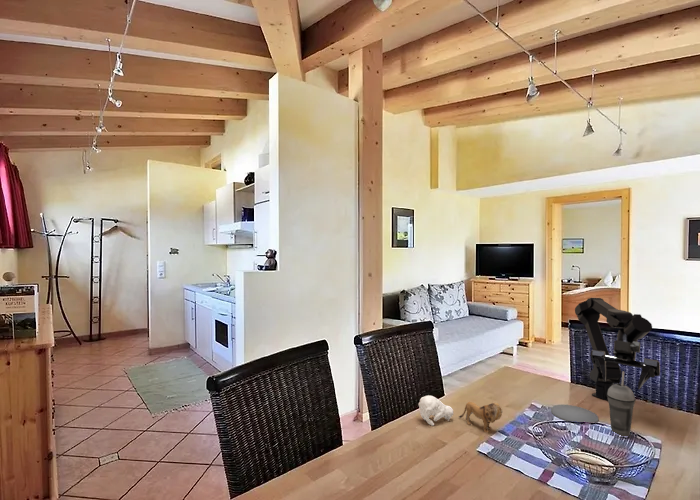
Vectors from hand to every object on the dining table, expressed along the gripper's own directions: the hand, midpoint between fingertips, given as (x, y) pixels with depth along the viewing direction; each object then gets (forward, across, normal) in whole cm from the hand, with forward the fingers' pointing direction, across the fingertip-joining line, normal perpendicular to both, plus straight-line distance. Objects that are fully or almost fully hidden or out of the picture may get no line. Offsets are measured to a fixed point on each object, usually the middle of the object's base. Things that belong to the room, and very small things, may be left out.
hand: (621, 384), depth 124 cm
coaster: (+11, -13, +8) cm, 19 cm away
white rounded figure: (+37, -45, -18) cm, 61 cm away
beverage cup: (+15, +1, +4) cm, 16 cm away
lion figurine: (+32, -33, -14) cm, 48 cm away
